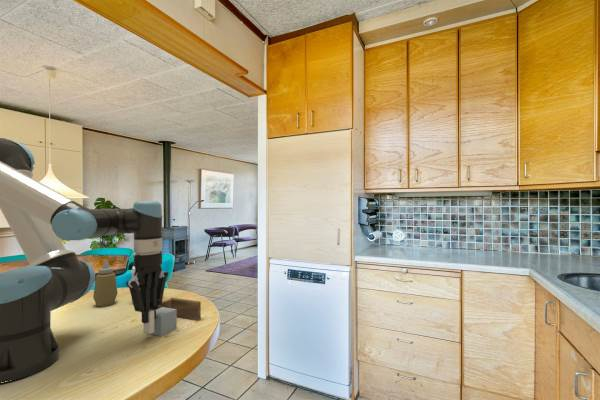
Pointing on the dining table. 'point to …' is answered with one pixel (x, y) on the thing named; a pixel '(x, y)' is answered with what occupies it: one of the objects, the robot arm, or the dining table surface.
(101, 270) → the squeeze bottle
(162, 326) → the grey block
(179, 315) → the corner fence
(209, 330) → the dining table surface
